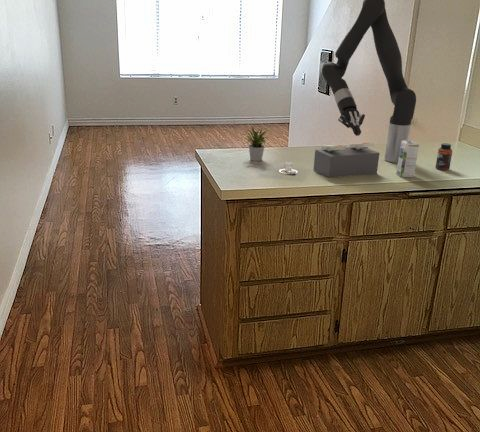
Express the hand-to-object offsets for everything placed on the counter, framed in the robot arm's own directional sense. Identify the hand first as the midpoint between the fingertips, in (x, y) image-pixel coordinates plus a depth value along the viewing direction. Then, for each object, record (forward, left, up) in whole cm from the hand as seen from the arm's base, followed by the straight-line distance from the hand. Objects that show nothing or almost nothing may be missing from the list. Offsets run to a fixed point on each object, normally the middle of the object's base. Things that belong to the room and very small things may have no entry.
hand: (358, 134), depth 224 cm
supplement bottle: (-39, +11, -15) cm, 43 cm away
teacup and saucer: (+34, -3, -16) cm, 37 cm away
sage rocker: (+14, +3, -4) cm, 15 cm away
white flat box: (0, +3, -4) cm, 6 cm away
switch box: (+7, +3, -15) cm, 17 cm away
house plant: (+37, -26, -15) cm, 48 cm away
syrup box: (-15, +15, -15) cm, 26 cm away
